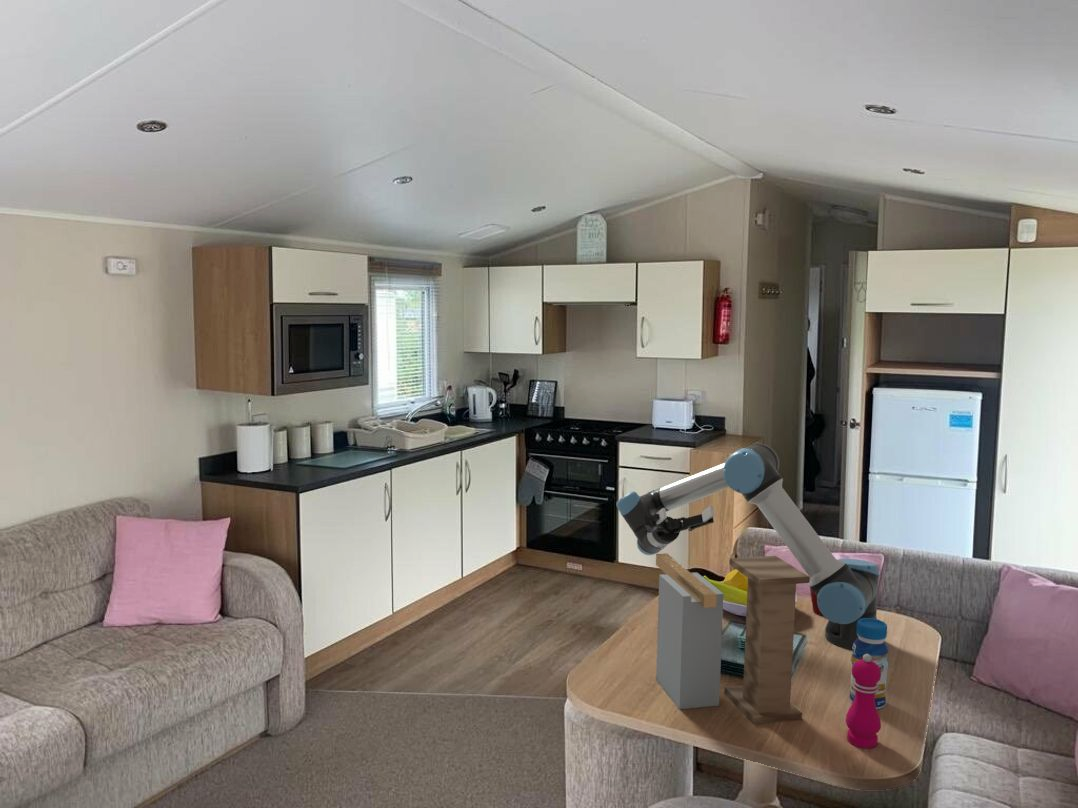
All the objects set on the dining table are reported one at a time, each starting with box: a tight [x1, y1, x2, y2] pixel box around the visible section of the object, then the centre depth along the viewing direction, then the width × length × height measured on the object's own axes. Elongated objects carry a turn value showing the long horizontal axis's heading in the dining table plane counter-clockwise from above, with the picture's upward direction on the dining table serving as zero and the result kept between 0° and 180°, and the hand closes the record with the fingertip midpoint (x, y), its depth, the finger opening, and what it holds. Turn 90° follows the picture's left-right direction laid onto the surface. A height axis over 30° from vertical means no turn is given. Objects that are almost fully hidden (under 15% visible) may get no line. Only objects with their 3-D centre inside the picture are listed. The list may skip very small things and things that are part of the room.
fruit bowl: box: [702, 568, 797, 617], centre depth 270 cm, size 28×27×11 cm
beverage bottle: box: [849, 618, 890, 710], centre depth 208 cm, size 8×8×20 cm
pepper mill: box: [845, 654, 882, 749], centre depth 190 cm, size 7×7×20 cm
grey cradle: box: [655, 571, 724, 710], centre depth 212 cm, size 16×10×28 cm, turn 12°
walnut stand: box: [723, 555, 809, 725], centre depth 205 cm, size 16×12×34 cm
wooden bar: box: [655, 553, 717, 608], centre depth 215 cm, size 32×3×3 cm, turn 12°
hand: (688, 511), depth 235 cm, fingers open, 13 cm apart
